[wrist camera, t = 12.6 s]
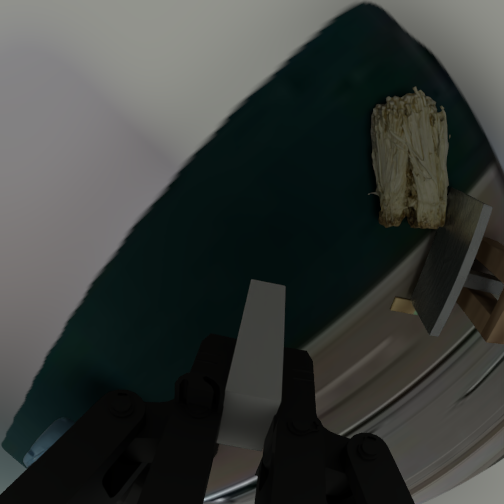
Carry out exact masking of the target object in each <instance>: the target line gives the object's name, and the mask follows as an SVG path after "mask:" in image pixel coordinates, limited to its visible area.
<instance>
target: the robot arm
mask: <svg viewBox="0 0 504 504" xmlns="http://www.w3.org/2000/svg"><path fill="white" fill-rule="evenodd" d="M284 320H285V286H283V285H278V284H273V283H268V282H263V281H258V280H253V279H251V283H250V287H249V291H248V296H247V300H246V304H245V309H244V313H243V317H242V321H241V326H240V330H239V334H238V338H237V339H234V338H229V337H225V336H220V335H215V334H210V335H209V336H207V337H206V338H205V339H204V340H203V341H202V343H201V345H200V348H199V351H198V353H197V356H196V358H195V361H194V364H193V366H192V369H191V372H190V373H186V374H184V375H183V376H181V377H179V378H178V380H177V381H176V383H175V399H173V400H171V401H167V402H160V403H154V402H143V400H142V398H141V397H139V396H138V395H137V394H136V393H134V392H131V391H128V390H114V391H110V392H109V393H107V394H105V395H104V396H103V397H102V398H101V399H100V400H99V401H97V402H96V403H95V404H94V405H93V406H92V407H91V408H90V409H89V410H88V411H87V412H86V413H85V414H84V415H83V416H82V417H81V418H80V419H79V420H78V421H77V422H76V423H75V422H74V421H72V420H71V419H69V418H59V419H57V420H56V421H55V422H54V423H53V424H51V425H50V426H49V427H48V428H47V429H46V430H45V432H44V433H43V434H42V435H41V436H40V437H39V438H38V439H37V441H36V442H35V443H34V444H33V446H32V447H31V449H30V450H29V452H27V454H26V455H25V457H24V459H23V462H24V464H25V465H26V467H27V468H28V469H27V470H26V471H25V472H24V473H22V474H21V475H20V476H19V477H18V478H17V479H16V480H15V481H14V482H13V483H12V484H11V485H10V486H9V487H8V488H7V489H6V490H5V491H4V492H3V493H2V494H1V495H0V504H203V501H204V497H205V493H206V488H207V484H208V479H209V475H210V471H211V466H212V462H213V458H214V457H215V455H216V454H217V451H218V447H219V444H224V445H229V446H234V447H239V448H245V449H251V450H257V451H262V449H263V446H264V449H263V457H262V460H261V462H260V464H259V466H258V469H257V471H256V474H255V475H257V476H258V480H257V488H256V496H255V504H415V503H414V501H413V499H412V497H411V495H410V492H409V490H408V488H407V486H406V484H405V482H404V480H403V477H402V475H401V473H400V471H399V469H398V467H397V465H396V463H395V461H394V459H393V456H392V454H391V452H390V450H389V448H388V446H387V445H386V443H385V442H384V441H383V440H382V439H381V438H380V437H378V436H377V435H374V434H371V433H359V434H356V435H354V436H353V437H352V438H351V439H349V438H346V437H343V436H340V435H337V434H335V433H333V432H330V431H329V430H327V429H326V428H325V427H323V425H322V423H321V421H320V420H319V419H318V418H317V414H316V403H315V386H314V373H313V361H312V359H311V357H310V356H309V354H308V352H307V351H304V350H298V349H292V348H286V347H284Z"/></svg>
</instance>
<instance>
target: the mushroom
mask: <svg viewBox="0 0 504 504" xmlns="http://www.w3.org/2000/svg"><path fill="white" fill-rule="evenodd" d="M413 90H414V91H415V93H414V94H411V93H408V94H406V95H405V96H403V97H401V98H400V97H397V96H394V97H393V98H391V97H389V96H388V97H387V98H386V101H387V103H386V104H377V105H376V107H375V108H374V109H373V113H372V115H371V139H372V148H373V149H372V159H373V164H372V165H373V167H374V169H373V170H374V171H375V176H376V184H377V189H376V192H373V193H369V194H376V195H378V196H380V206H381V211H380V212H379V219H378V220H379V224H381V225H384V226H385V227H386V228H387V227H390V226H399V225H400V224H401V221H402V220H403V219H404V217H405V216H407V220H408V223H409V224H410V226H411V227H413V228H422V229H425V228H429V229H438V228H439V227H443V226H444V224H445V217H446V205H447V191H448V190H447V187H448V186H449V183H448V175H447V167H446V160H447V153H448V146H449V143H448V145H447V121H446V113H445V111H444V107H443V106H442V105H441V106H440V107H441V109H442V111H441V112H439V113H437V108H436V106H435V104H436V102H435V101H433V100H432V99H431V97H428V96H425V94H424V92H422V91H421V90H419V91H417V88H416V86H415V87H414V88H413ZM449 139H450V135H449ZM370 161H371V160H370ZM448 189H449V188H448ZM369 194H368V195H369Z"/></svg>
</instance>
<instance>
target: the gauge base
mask: <svg viewBox="0 0 504 504" xmlns="http://www.w3.org/2000/svg"><path fill="white" fill-rule="evenodd" d="M475 258H476V259H477V260H478V261H479V262H481V263H482V264H483V265H484V266H485V267H486V268H487V269H488V270H489V271H490V272H492V273H493V274H494V275H495V276H496V277H497V278H498V279H499V280H500V281H501V282H502V283H503V284H504V246H503V245H502V244H500V243H499V242H497V241H494V240H492V239H489V238H486V237H483V238H482V241H481V243H480V246H479V249H478V251H477V254H476V257H475ZM456 302H457V303H458V304H459V306H460V307H461V308H462V310H463V311H464V312H465V314H466V315H467V316H468V318H469V319H470V320H471V322H472V323H473V324H474V326H475V327H476V329H477V330H478V331H479V333H480V334H481V336H482V337H483V338H484V340H485V341H486V342H489V343H498V344H504V289H503V291H502V293H501V295H500V297H499V299H498V300H497V299H496V298H495V297H494V296H493V295H492V294H491V293H489V292H484V291H480V290H476V289H472V288H467V287H462V290H461V292H460V294H459V296H458V298H457V301H456ZM390 310H392V311H398V312H403V313H409V314H415V315H418V314H417V312H416V310H415V309H414V307H413V305H412V303H411V302H410V299H405V298H400V297H395V299H394V301H393V303H392V306H391V308H390Z"/></svg>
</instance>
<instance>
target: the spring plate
mask: <svg viewBox="0 0 504 504" xmlns="http://www.w3.org/2000/svg"><path fill="white" fill-rule="evenodd" d="M492 208H493V207H491V206H489V205H487V204H485V203H483V202H481V201H479V200H477V199H475V198H473V197H471V196H469V195H467V194H465V193H463V192H461V191H459V190H456V189H454V188H451V187H450V191H449V194H448V198H447V205H446V217H445V224H444V226H443V227H439V228H438V229H437V232H436V235H435V238H434V241H433V243H432V246H431V249H430V252H429V254H428V257H427V260H426V262H425V265H424V267H423V270H422V272H421V275H420V277H419V280H418V282H417V285H416V287H415V289H414V292H413V294H412V296H411V299H410V302H411V303H412V305H413V307H414V309H415V310H416V312H417V314H418V316H419V317H420V319H421V321H422V323H423V325H424V326H425V328H426V330H427V332H428V334H429V335H431V336H439V334H440V332H441V330H442V329H443V327H444V325H445V323H446V321H447V319H448V317H449V315H450V313H451V311H452V309H453V307H454V305H455V303H456V301H457V298H458V296H459V294H460V292H461V290H462V287H467V288H472V289H476V290H480V291H484V292H489V293H493V294H497V295H499V294H500V292H501V290H502V288H503V286H504V284H503V283H502V282H501V281H500V280H499V279H498V278H497V277H496V276H493V275H489V274H486V273H482V272H479V271H475V270H471V267H472V264H473V262H474V259H475V257H476V254H477V251H478V249H479V246H480V243H481V241H482V238H483V235H484V232H485V229H486V226H487V223H488V220H489V217H490V214H491V211H492Z"/></svg>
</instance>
